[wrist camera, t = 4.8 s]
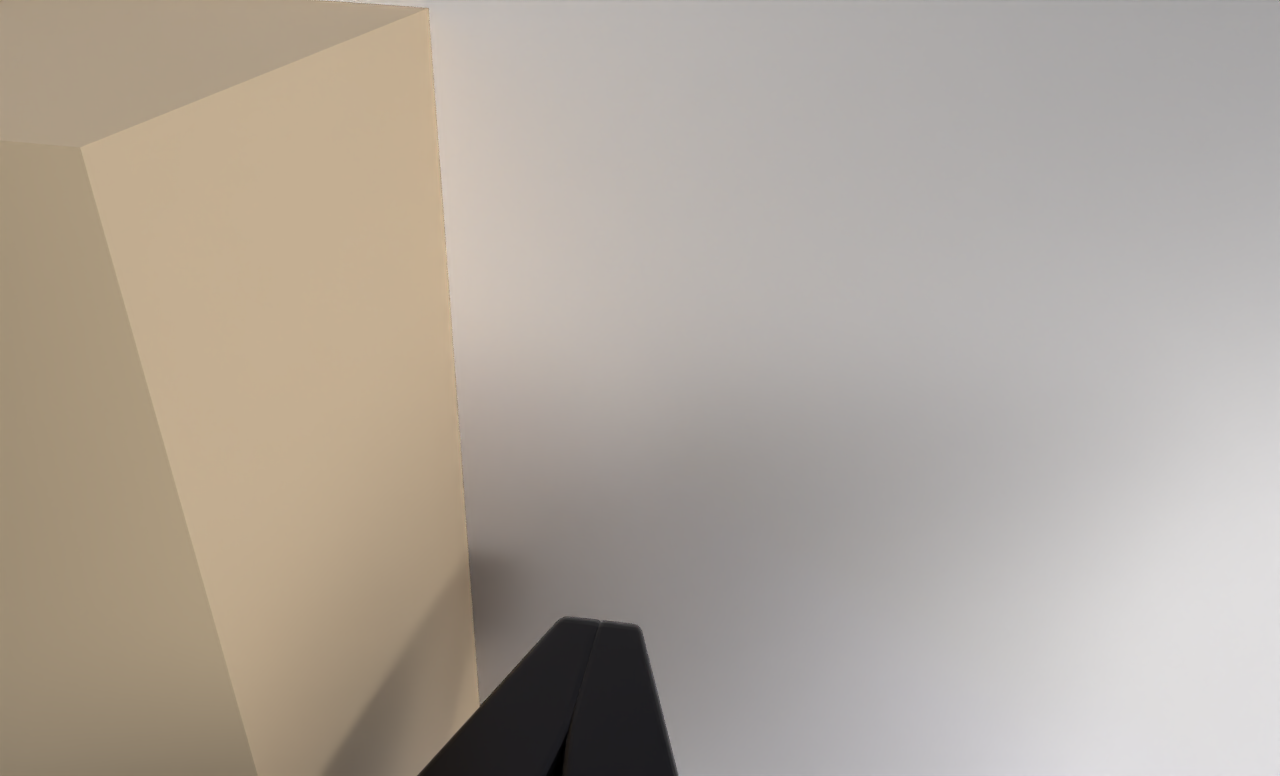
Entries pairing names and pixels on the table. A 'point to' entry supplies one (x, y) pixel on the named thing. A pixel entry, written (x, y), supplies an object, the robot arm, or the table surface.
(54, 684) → the carton
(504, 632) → the table surface
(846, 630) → the table surface
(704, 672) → the table surface
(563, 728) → the robot arm
